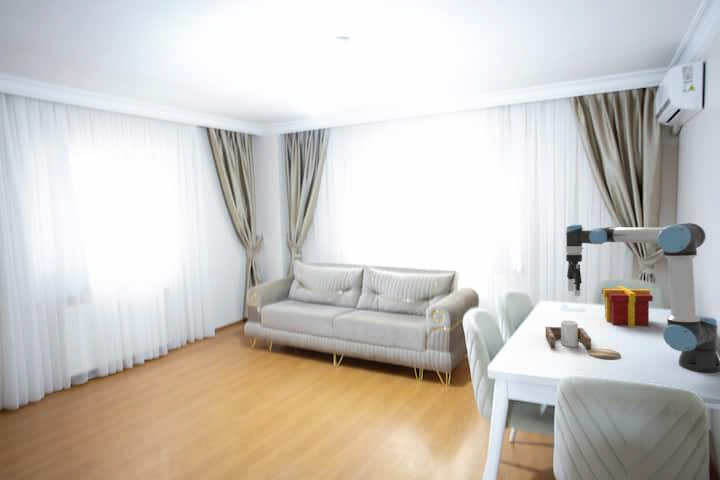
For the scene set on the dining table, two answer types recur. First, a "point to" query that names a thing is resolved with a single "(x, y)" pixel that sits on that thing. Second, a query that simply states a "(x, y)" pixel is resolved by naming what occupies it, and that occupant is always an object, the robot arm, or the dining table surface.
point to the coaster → (604, 353)
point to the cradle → (556, 333)
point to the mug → (569, 333)
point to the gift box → (627, 306)
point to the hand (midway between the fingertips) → (574, 293)
